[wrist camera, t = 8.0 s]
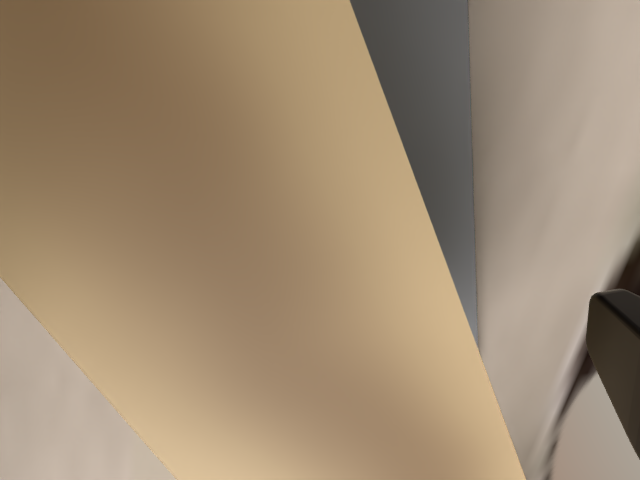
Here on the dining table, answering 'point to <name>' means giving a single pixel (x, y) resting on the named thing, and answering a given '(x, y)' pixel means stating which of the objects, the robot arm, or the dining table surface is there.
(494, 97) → the dining table surface
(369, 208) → the shelf board
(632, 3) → the dining table surface
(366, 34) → the peg rack
